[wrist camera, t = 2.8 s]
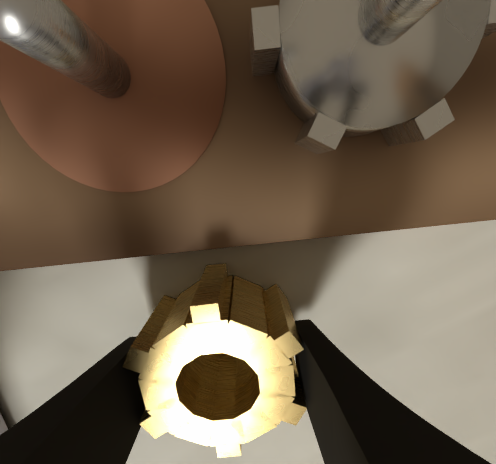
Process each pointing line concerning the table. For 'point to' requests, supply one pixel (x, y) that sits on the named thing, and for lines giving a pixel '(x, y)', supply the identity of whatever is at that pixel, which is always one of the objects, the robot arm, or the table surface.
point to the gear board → (212, 149)
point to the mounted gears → (304, 59)
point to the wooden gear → (219, 363)
